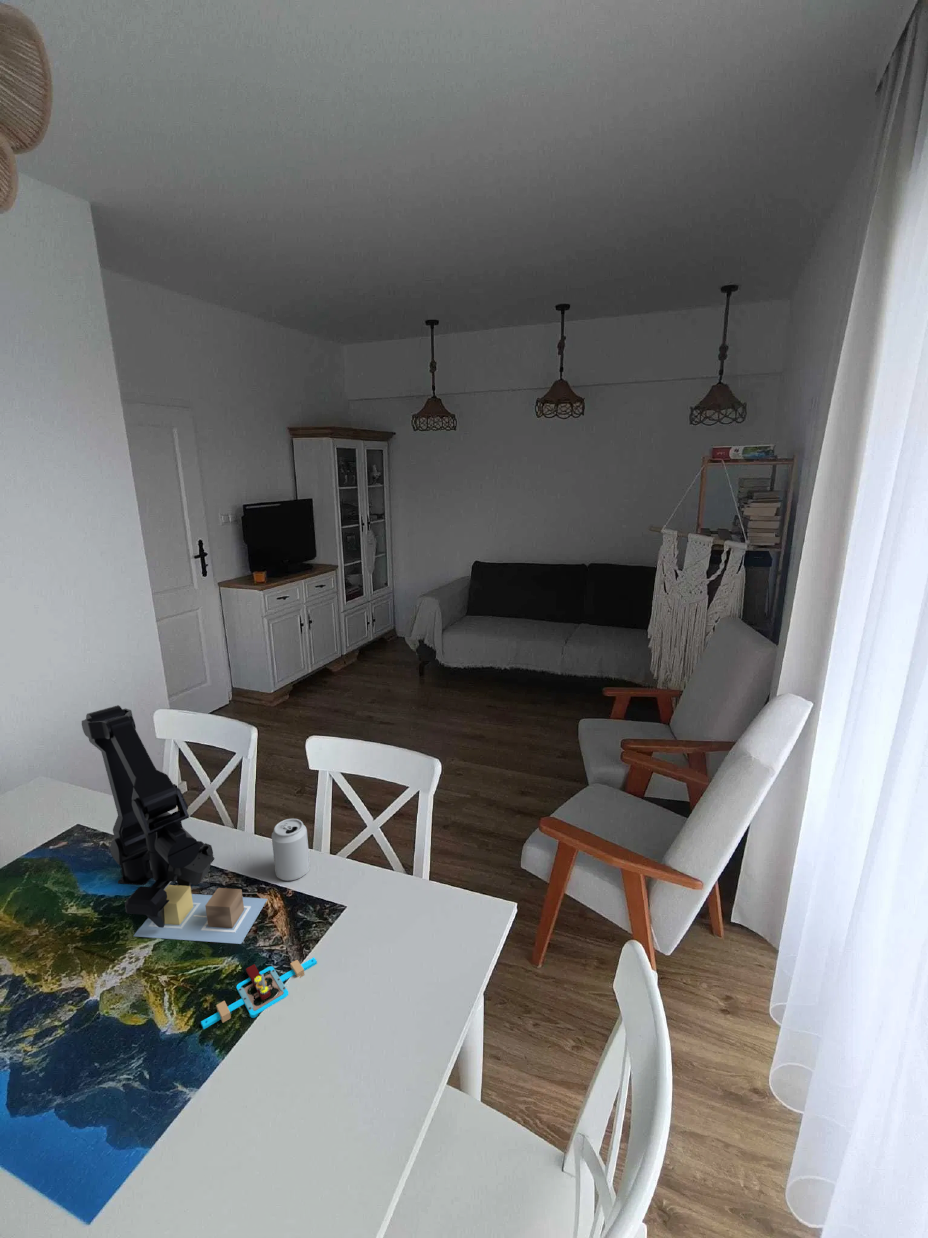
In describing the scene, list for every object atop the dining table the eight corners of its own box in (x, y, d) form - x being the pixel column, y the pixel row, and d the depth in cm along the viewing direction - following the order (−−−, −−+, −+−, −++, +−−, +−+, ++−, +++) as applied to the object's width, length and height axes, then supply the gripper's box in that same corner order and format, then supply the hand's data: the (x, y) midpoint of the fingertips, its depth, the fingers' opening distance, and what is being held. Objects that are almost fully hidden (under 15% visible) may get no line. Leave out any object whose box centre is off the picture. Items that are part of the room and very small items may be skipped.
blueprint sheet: (133, 937, 113) (132, 935, 113) (169, 894, 124) (169, 892, 124) (241, 945, 111) (241, 943, 111) (267, 900, 122) (267, 898, 122)
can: (289, 888, 126) (284, 840, 123) (268, 874, 130) (263, 828, 127) (317, 870, 131) (313, 823, 128) (296, 857, 136) (292, 812, 133)
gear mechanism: (193, 1006, 99) (210, 1047, 92) (189, 981, 97) (206, 1020, 90) (303, 946, 111) (325, 977, 104) (300, 922, 110) (323, 953, 103)
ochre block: (156, 923, 116) (152, 902, 115) (170, 905, 121) (167, 884, 119) (179, 925, 115) (176, 903, 114) (193, 906, 120) (190, 886, 119)
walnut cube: (208, 927, 115) (205, 905, 114) (220, 908, 120) (218, 888, 118) (232, 928, 114) (229, 907, 113) (244, 910, 119) (241, 889, 118)
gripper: (174, 878, 104) (186, 950, 108) (226, 818, 122) (234, 881, 126) (116, 875, 105) (130, 946, 109) (176, 815, 123) (185, 878, 127)
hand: (174, 910), depth 118 cm, fingers open, 8 cm apart
